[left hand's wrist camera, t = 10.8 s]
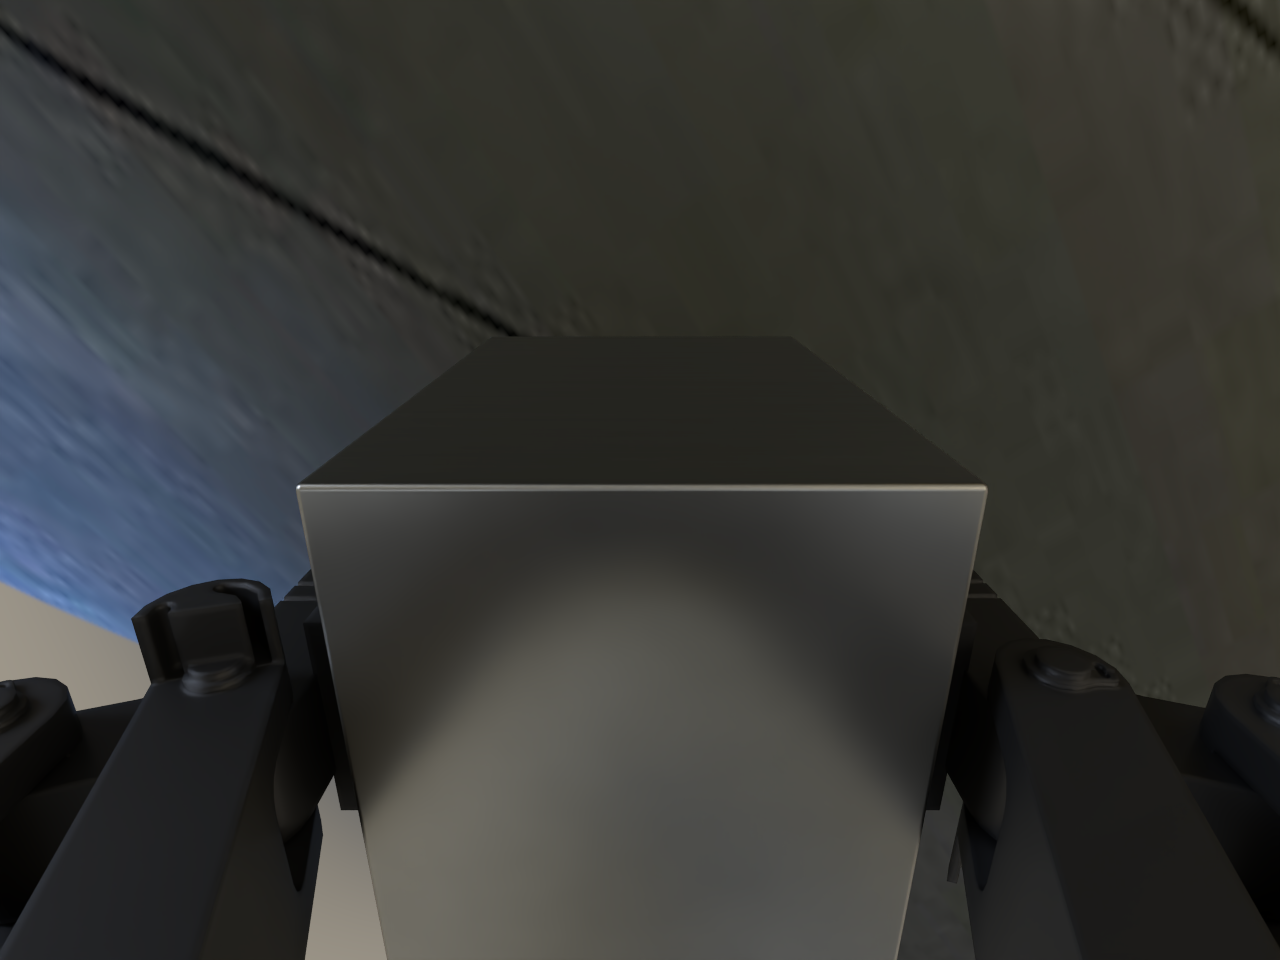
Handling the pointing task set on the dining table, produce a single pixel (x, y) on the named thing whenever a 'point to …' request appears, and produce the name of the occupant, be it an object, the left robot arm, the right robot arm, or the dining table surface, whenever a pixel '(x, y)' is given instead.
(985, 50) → the dining table surface
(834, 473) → the bar
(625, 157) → the dining table surface
